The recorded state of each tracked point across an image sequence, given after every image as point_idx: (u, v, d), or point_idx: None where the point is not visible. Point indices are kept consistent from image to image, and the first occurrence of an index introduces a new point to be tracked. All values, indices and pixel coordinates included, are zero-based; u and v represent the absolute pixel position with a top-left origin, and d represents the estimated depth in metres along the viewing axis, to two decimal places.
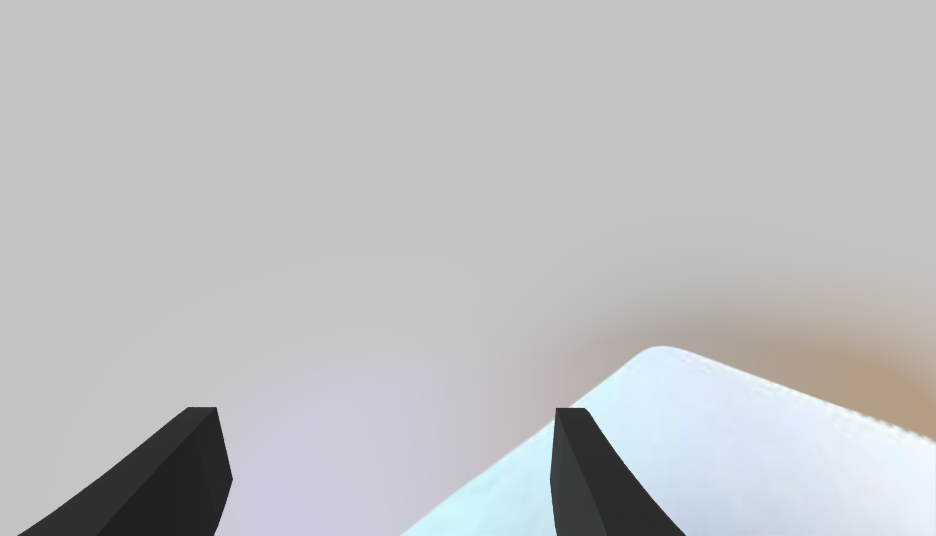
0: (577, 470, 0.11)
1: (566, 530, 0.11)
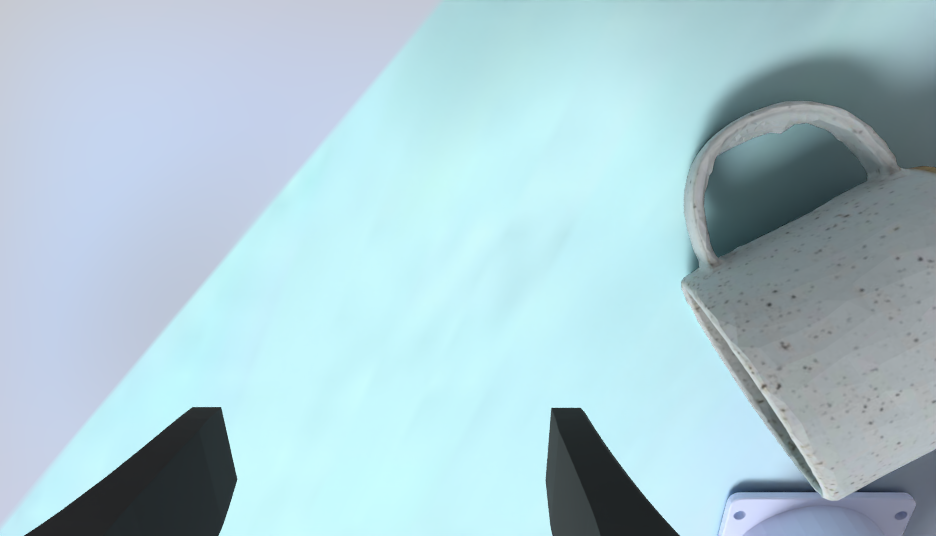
0: (571, 470, 0.11)
1: (561, 530, 0.11)
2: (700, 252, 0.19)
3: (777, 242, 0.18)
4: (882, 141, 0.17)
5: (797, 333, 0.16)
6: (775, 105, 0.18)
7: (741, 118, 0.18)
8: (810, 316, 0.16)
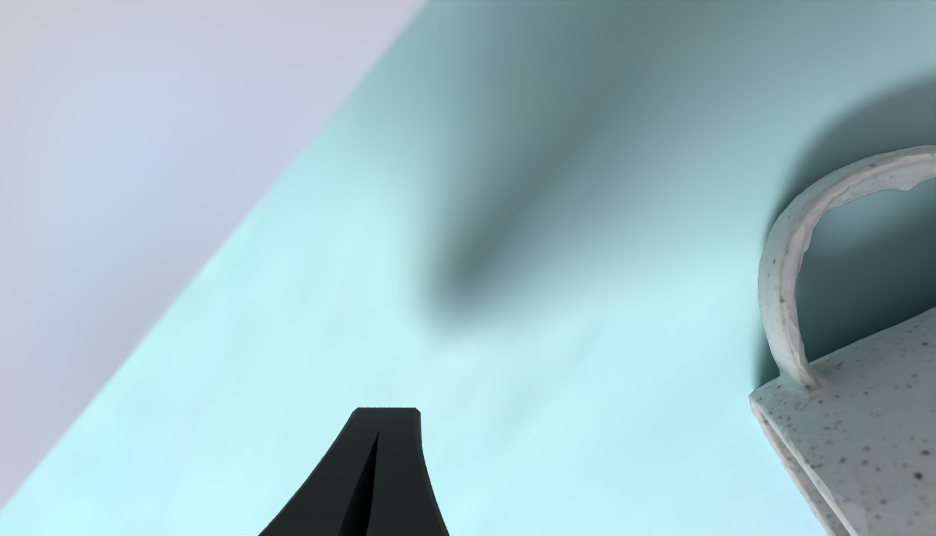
0: (376, 469, 0.10)
1: None
2: (788, 366, 0.13)
3: (912, 359, 0.12)
4: None
5: None
6: (909, 152, 0.12)
7: (855, 170, 0.12)
8: None
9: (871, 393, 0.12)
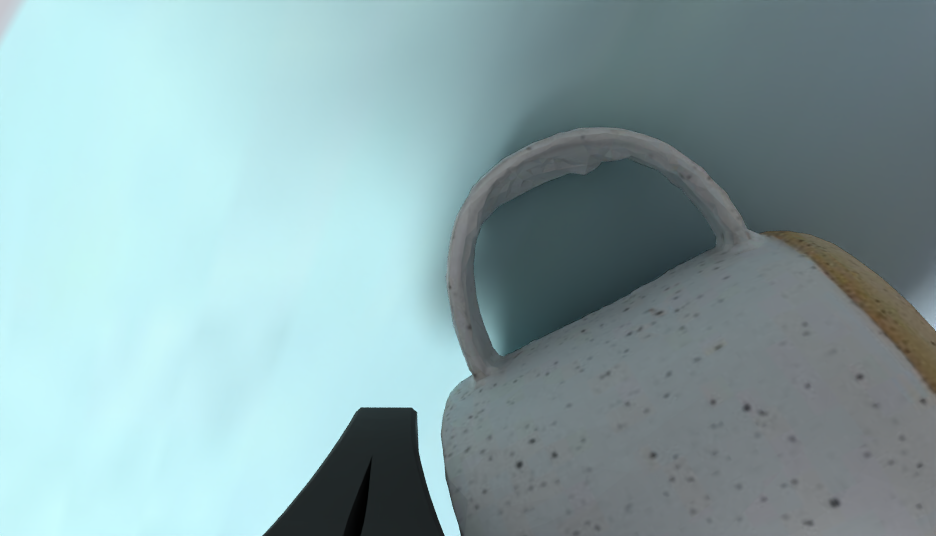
0: (372, 470, 0.10)
1: None
2: (463, 354, 0.12)
3: (565, 347, 0.11)
4: (724, 191, 0.11)
5: (550, 525, 0.09)
6: (563, 134, 0.11)
7: (515, 153, 0.12)
8: (572, 494, 0.09)
9: (518, 381, 0.11)
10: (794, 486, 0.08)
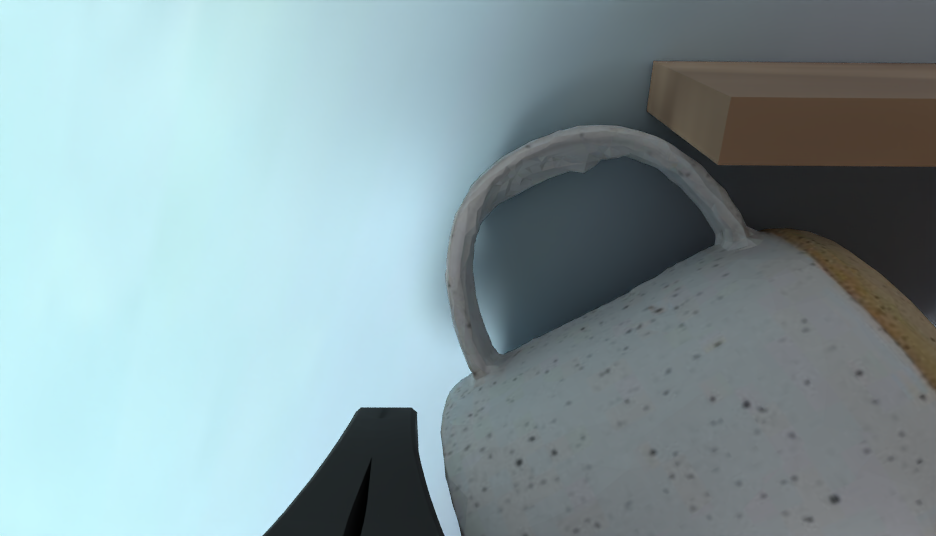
0: (372, 470, 0.10)
1: None
2: (463, 352, 0.12)
3: (564, 345, 0.11)
4: (723, 188, 0.11)
5: (550, 522, 0.09)
6: (562, 132, 0.11)
7: (514, 151, 0.12)
8: (572, 492, 0.09)
9: (518, 379, 0.11)
10: (794, 482, 0.08)
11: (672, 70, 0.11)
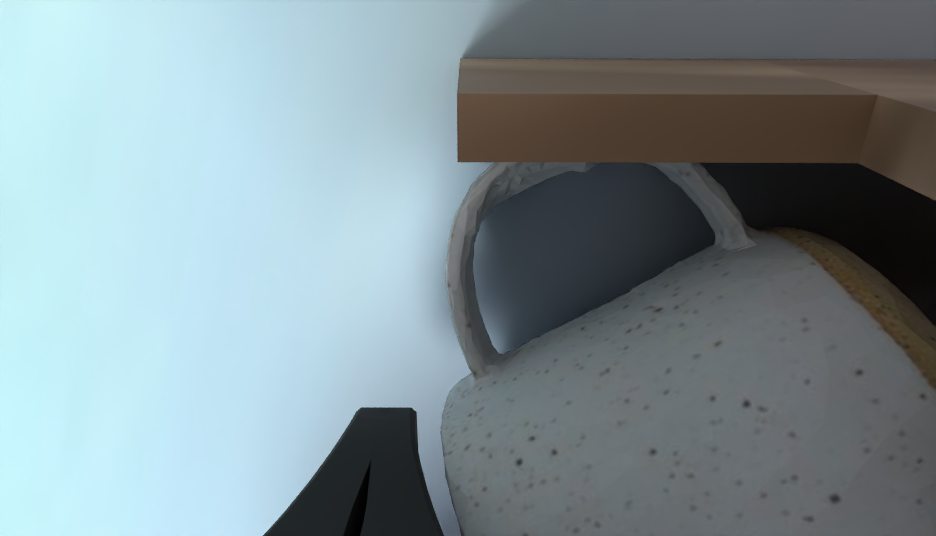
0: (371, 469, 0.10)
1: None
2: (463, 352, 0.12)
3: (564, 344, 0.11)
4: (723, 188, 0.11)
5: (550, 521, 0.09)
6: None
7: None
8: (571, 492, 0.09)
9: (518, 379, 0.11)
10: (794, 481, 0.08)
11: (460, 67, 0.11)
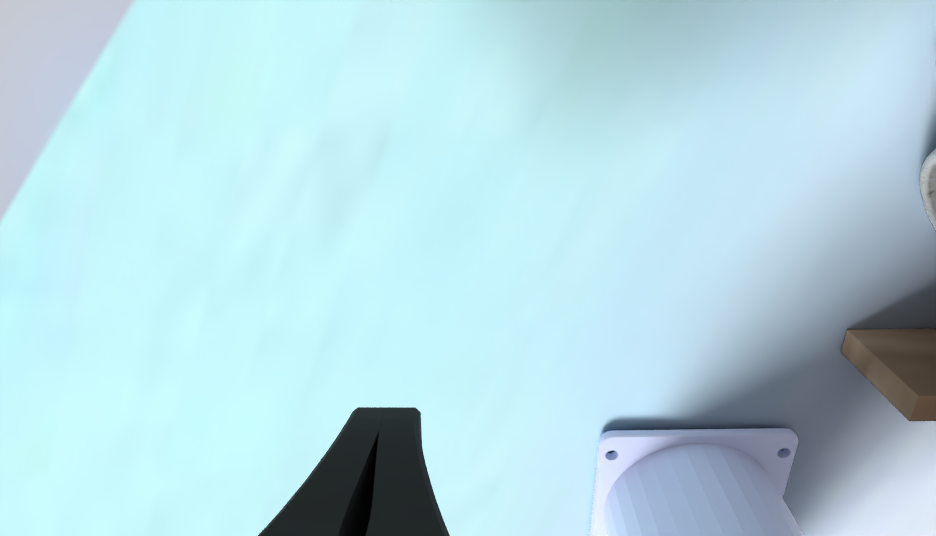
0: (376, 469, 0.10)
1: None
2: None
3: None
4: None
5: None
6: None
7: None
8: None
9: None
10: None
11: None
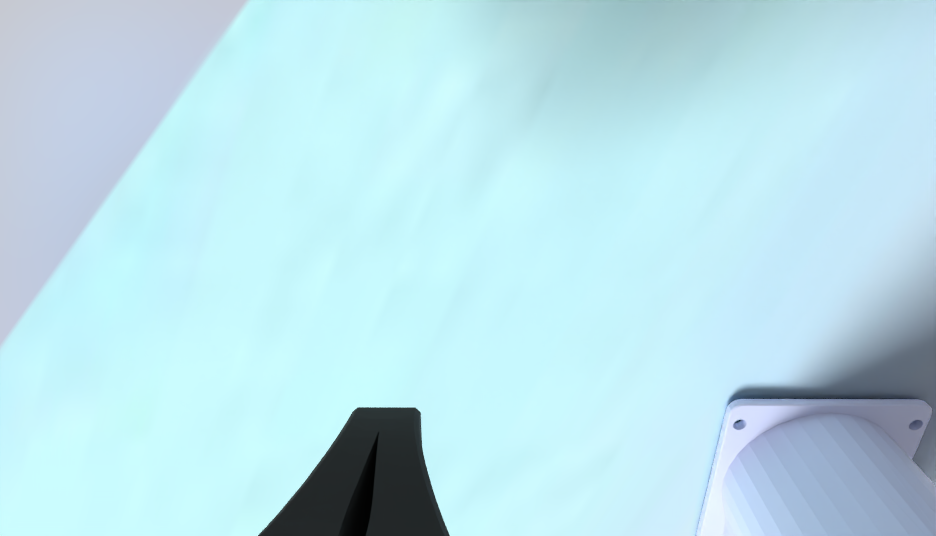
0: (376, 469, 0.10)
1: None
2: None
3: None
4: None
5: None
6: None
7: None
8: None
9: None
10: None
11: None
